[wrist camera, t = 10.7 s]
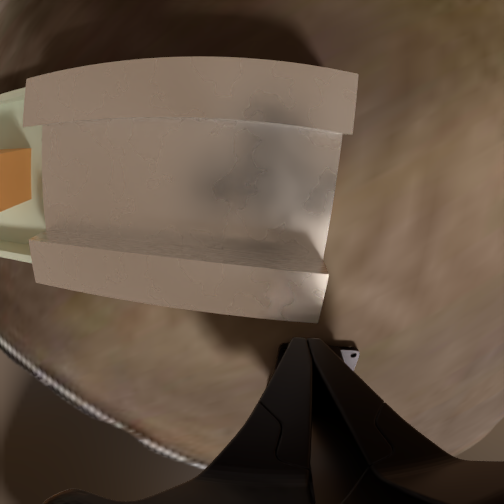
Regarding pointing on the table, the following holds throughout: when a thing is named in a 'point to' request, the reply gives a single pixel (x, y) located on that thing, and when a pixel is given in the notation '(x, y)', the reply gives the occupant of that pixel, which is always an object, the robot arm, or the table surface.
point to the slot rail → (191, 181)
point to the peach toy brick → (15, 177)
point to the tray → (32, 211)
